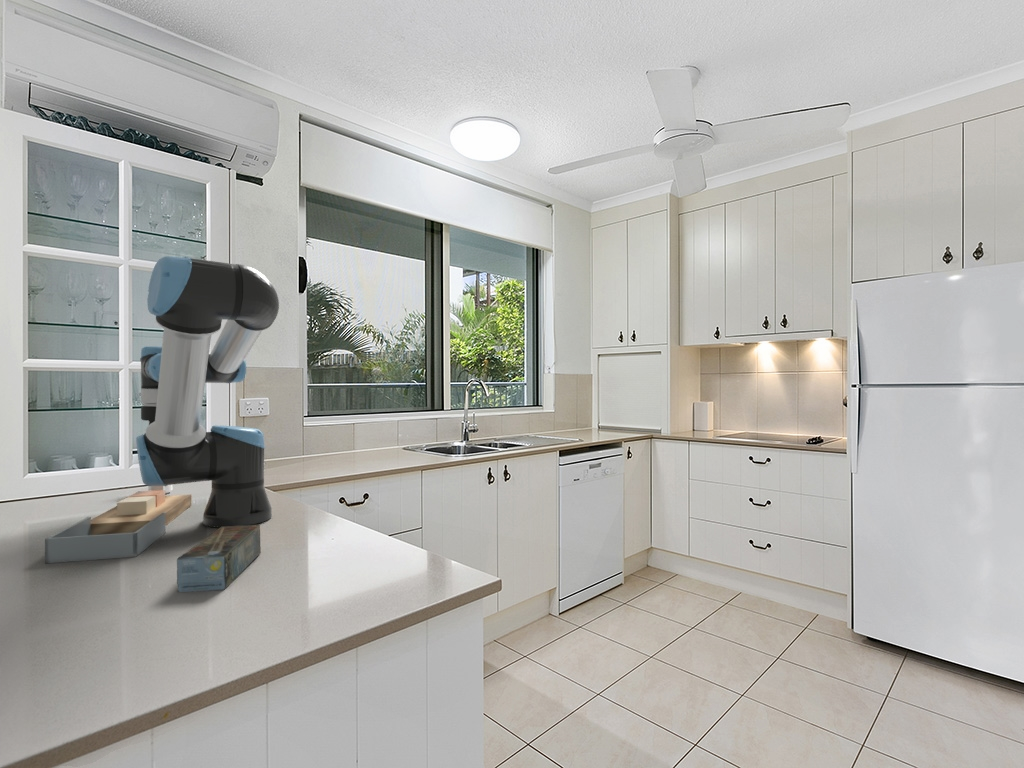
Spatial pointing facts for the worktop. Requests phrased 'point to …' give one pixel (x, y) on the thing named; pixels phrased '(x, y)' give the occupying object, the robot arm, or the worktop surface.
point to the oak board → (139, 516)
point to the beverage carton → (218, 558)
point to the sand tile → (136, 505)
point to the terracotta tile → (159, 495)
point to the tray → (100, 542)
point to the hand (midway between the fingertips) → (158, 493)
